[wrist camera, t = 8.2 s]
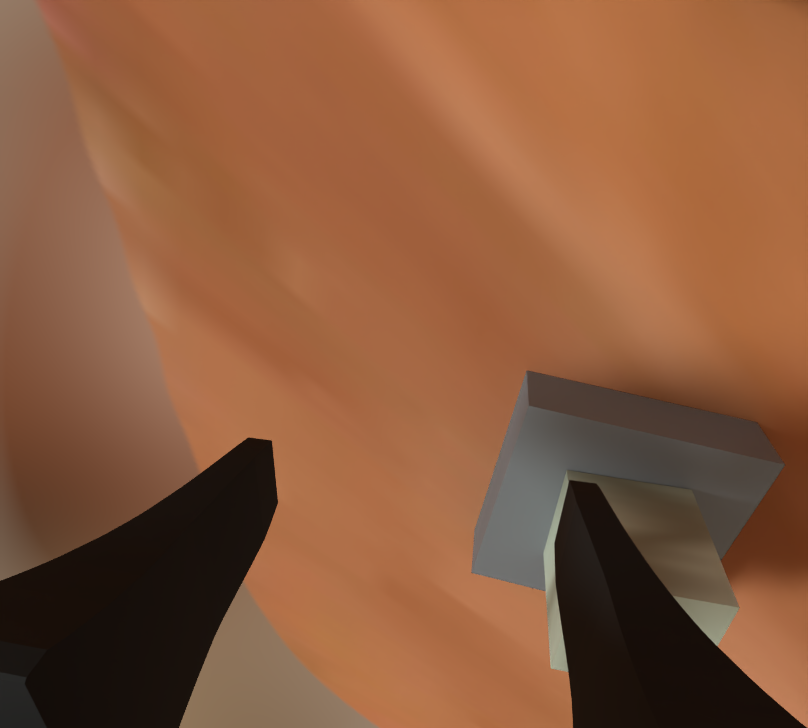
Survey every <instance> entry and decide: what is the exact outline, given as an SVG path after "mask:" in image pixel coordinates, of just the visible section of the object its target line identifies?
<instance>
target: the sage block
mask: <svg viewBox="0 0 808 728" xmlns="http://www.w3.org/2000/svg"><path fill="white" fill-rule="evenodd" d="M569 480H574V481H582V482H590V483H597V485H598V486H599V487H600V489H601V490H602V492H603V494H604V496H605V497H606V499H607V501H608V502H609V504H610V506H611V507H612V509H613V511H614V512H615V514H616V516H617V517H618V519H619V521H620V522H621V524H622V525H623V527H624V529H625V530H626V532H627V533H628V535H629V536H630V538H631V539H632V541H633V542H634V544H635V545H636V547H637V548H638V550H639V551H640V552H641V554H642V555H643V557H644V558H645V560H646V561H647V563H648V564H649V565H650V567H651V568H652V570H653V571H654V572H655V574H656V575H657V576H658V578H659V579H660V580H661V582H662V583H663V584H664V585H665V587H666V588H667V589H668V591H669V592H670V593H671V594H672V596H673V597H674V598H675V599H676V601H677V602H678V603H679V604H680V606H681V607H682V608H683V609H684V610H685V612H686V613H687V614H688V615H689V616H690V617H691V618H692V620H693V621H694V622H695V623H696V624H697V625H698V626H699V627H700V629H701V630H702V631H703V632H704V633H705V634H706V635H707V636H708V637H709V638H710V639H711V640H712V641H713V642H714V643H715V645H716V646H718V644H719V643H720V641H721V639H722V637H723V636H724V634H725V632H726V630H727V629H728V627H729V625H730V623H731V622H732V620H733V618H734V617H735V615H736V613H737V611H738V610H739V605H738V603H737V600H736V598H735V595H734V593H733V590H732V588H731V585H730V583H729V580H728V578H727V575H726V573H725V571H724V568H723V566H722V563H721V561H720V558H719V556H718V553H717V551H716V548H715V546H714V543H713V541H712V538H711V536H710V534H709V531H708V529H707V526H706V524H705V521H704V519H703V516H702V514H701V511H700V509H699V506H698V504H697V501H696V499H695V497H694V494H693V492H692V490H690V489H684V488H677V487H671V486H665V485H658V484H652V483H646V482H639V481H633V480H627V479H620V478H614V477H608V476H601V475H595V474H588V473H582V472H576V471H569V470H567V471H566V474H565V478H564V481H563V485H562V488H561V492H560V496H559V499H558V503H557V506H556V510H555V513H554V517H553V521H552V524H551V528H550V531H549V535H548V538H547V542H546V546H545V549H544V553H543V555H544V571H545V586H546V601H547V617H548V632H549V648H550V663H551V669H556V670H562V671H567V672H568V666H567V659H566V653H565V646H564V639H563V633H562V626H561V619H560V612H559V606H558V599H557V592H556V584H555V550H554V542H555V538H556V534H557V530H558V525H559V521H560V517H561V513H562V509H563V504H564V500H565V496H566V492H567V488H568V483H569Z"/></svg>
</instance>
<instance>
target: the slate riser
mask: <svg viewBox="0 0 808 728" xmlns="http://www.w3.org/2000/svg"><path fill="white" fill-rule="evenodd" d="M784 466H785V464H784V462H783V461H782V459H781V458H780V456H779V455H778V453H777V452H776V450H775V449H774V447H773V446H772V444H771V443H770V441H769V440H768V438H767V437H766V435H765V434H764V432H763V431H762V429H761V428H760V426H759V425H758V423H757V422H753V421H749V420H745V419H740V418H736V417H731V416H727V415H722V414H718V413H713V412H709V411H705V410H700V409H696V408H691V407H687V406H682V405H678V404H674V403H669V402H665V401H660V400H656V399H651V398H647V397H642V396H638V395H634V394H629V393H625V392H620V391H616V390H611V389H607V388H603V387H598V386H594V385H589V384H585V383H580V382H576V381H572V380H567V379H563V378H558V377H554V376H549V375H545V374H540V373H536V372H532V371H526V374H525V377H524V380H523V384H522V387H521V390H520V393H519V396H518V399H517V402H516V405H515V408H514V411H513V414H512V417H511V420H510V423H509V426H508V429H507V432H506V435H505V439H504V442H503V445H502V448H501V451H500V454H499V457H498V460H497V463H496V466H495V469H494V472H493V475H492V478H491V481H490V484H489V487H488V491H487V494H486V497H485V500H484V503H483V506H482V509H481V512H480V515H479V518H478V521H477V524H476V527H475V532H474V546H473V560H472V573H475V574H479V575H483V576H487V577H491V578H495V579H499V580H503V581H507V582H511V583H515V584H519V585H523V586H527V587H531V588H535V589H539V590H543V591H546V586H545V571H544V555H543V553H544V549H545V546H546V542H547V538H548V535H549V531H550V528H551V524H552V521H553V517H554V513H555V510H556V506H557V503H558V499H559V496H560V492H561V488H562V485H563V481H564V478H565V474H566V471H567V470H569V471H576V472H582V473H588V474H595V475H601V476H608V477H614V478H620V479H627V480H633V481H639V482H646V483H652V484H658V485H665V486H671V487H677V488H684V489H690V490H692V492H693V494H694V497H695V499H696V501H697V504H698V506H699V509H700V511H701V514H702V516H703V519H704V521H705V524H706V526H707V529H708V531H709V534H710V536H711V538H712V541H713V543H714V546H715V548H716V551H717V553H718V556H719V558H720V561H721V560H722V558H723V557H724V555H725V554H726V552H727V551H728V549H729V548H730V546H731V545H732V543H733V542H734V540H735V539H736V537H737V536H738V534H739V533H740V531H741V530H742V528H743V527H744V525H745V524H746V522H747V521H748V519H749V518H750V516H751V515H752V513H753V512H754V510H755V509H756V507H757V506H758V505H759V503H760V502H761V500H762V499H763V497H764V496H765V494H766V493H767V491H768V490H769V488H770V487H771V485H772V484H773V482H774V481H775V479H776V478H777V476H778V475H779V473H780V472H781V470H782V469H783V467H784Z"/></svg>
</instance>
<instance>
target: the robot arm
mask: <svg viewBox="0 0 808 728" xmlns="http://www.w3.org/2000/svg"><path fill="white" fill-rule="evenodd" d="M277 504H278V499H277V488H276V478H275V468H274V458H273V448H272V441H271V440H263V439H256V438H247V439H246V440H244V441H243V442H242V443H240V444H239V445H238V446H236V447H235V448H234V449H232V450H231V451H230V452H228V453H227V454H226V455H224V456H223V457H222V458H220V459H219V460H218V461H216V462H215V463H214V464H213V465H211V466H210V467H209V468H207V469H206V470H205V471H203V472H202V473H200V474H199V475H198V476H196V477H195V478H194V479H192V480H191V481H190V482H188V483H187V484H185V485H184V486H183V487H181V488H180V489H178V490H177V491H175V492H174V493H172V494H171V495H169V496H168V497H166V498H165V499H163V500H162V501H160V502H159V503H157V504H156V505H154V506H153V507H151V508H150V509H149V510H147V511H145V512H143V513H142V514H140V515H139V516H137V517H135V518H133V519H132V520H130V521H128V522H127V523H125V524H123V525H122V526H119V527H118V528H116V529H114V530H112V531H110V532H109V533H107V534H105V535H103V536H101V537H99V538H97V539H95V540H93V541H91V542H89V543H87V544H85V545H83V546H81V547H79V548H76V549H74V550H72V551H70V552H68V553H67V554H64V555H62V556H60V557H58V558H55V559H53V560H51V561H49V562H46V563H44V564H41V565H39V566H37V567H34V568H32V569H30V570H27V571H24V572H22V573H19V574H17V575H15V576H12V577H9V578H7V579H4V580H1V581H0V728H179V726H180V723H181V720H182V718H183V715H184V712H185V710H186V707H187V705H188V702H189V699H190V697H191V694H192V691H193V689H194V686H195V684H196V681H197V678H198V676H199V673H200V671H201V668H202V666H203V664H204V661H205V658H206V656H207V653H208V651H209V648H210V646H211V644H212V641H213V639H214V636H215V634H216V632H217V630H218V628H219V626H220V624H221V622H222V620H223V618H224V616H225V614H226V612H227V610H228V608H229V606H230V604H231V602H232V601H233V599H234V597H235V595H236V593H237V591H238V589H239V587H240V585H241V584H242V582H243V580H244V578H245V576H246V574H247V572H248V570H249V568H250V567H251V565H252V563H253V561H254V559H255V557H256V555H257V553H258V551H259V549H260V547H261V545H262V543H263V541H264V539H265V537H266V534H267V531H268V529H269V526H270V524H271V521H272V518H273V515H274V512H275V510H276V507H277ZM554 550H555V584H556V592H557V599H558V606H559V612H560V619H561V626H562V633H563V639H564V646H565V653H566V659H567V666H568V672H569V679H570V688H571V698H572V714H573V728H806V727H805V726H804V725H803V724H801V723H800V722H799V721H798V720H797V719H795V718H794V717H793V716H792V715H791V714H790V713H788V712H787V711H786V710H785V709H784V708H783V707H782V706H780V705H779V704H778V703H777V702H776V701H775V700H773V699H772V698H771V697H770V696H769V695H768V694H767V693H765V692H764V691H763V690H762V689H761V688H760V687H759V686H758V685H757V684H756V683H755V682H753V681H752V680H751V679H750V678H749V677H748V676H747V675H746V674H745V673H744V672H743V671H742V670H741V669H740V668H739V667H738V666H737V665H736V664H735V663H734V662H733V661H732V660H731V659H730V658H729V657H728V656H727V655H726V654H725V653H723V652H722V651H721V650H720V649H719V648H718V647H717V646H716V645H715V643H714V642H713V641H712V640H711V639H710V638H709V637H708V636H707V635H706V634H705V633H704V632H703V631H702V630H701V629H700V627H699V626H698V625H697V624H696V623H695V622H694V621H693V620H692V618H691V617H690V616H689V615H688V614H687V613H686V612H685V610H684V609H683V608H682V607H681V606H680V604H679V603H678V602H677V601H676V599H675V598H674V597H673V596H672V594H671V593H670V592H669V591H668V589H667V588H666V587H665V585H664V584H663V583H662V582H661V580H660V579H659V578H658V576H657V575H656V574H655V572H654V571H653V570H652V568H651V567H650V565H649V564H648V563H647V561H646V560H645V558H644V557H643V555H642V554H641V552H640V551H639V550H638V548H637V547H636V545H635V544H634V542H633V541H632V539H631V538H630V536H629V535H628V533H627V532H626V530H625V529H624V527H623V525H622V524H621V522H620V521H619V519H618V517H617V516H616V514H615V512H614V511H613V509H612V507H611V506H610V504H609V502H608V501H607V499H606V497H605V496H604V494H603V492H602V490H601V489H600V487H599V486H598V485H597V483H590V482H582V481H574V480H569V483H568V488H567V492H566V496H565V500H564V504H563V509H562V513H561V517H560V521H559V525H558V530H557V534H556V538H555V542H554Z"/></svg>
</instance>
